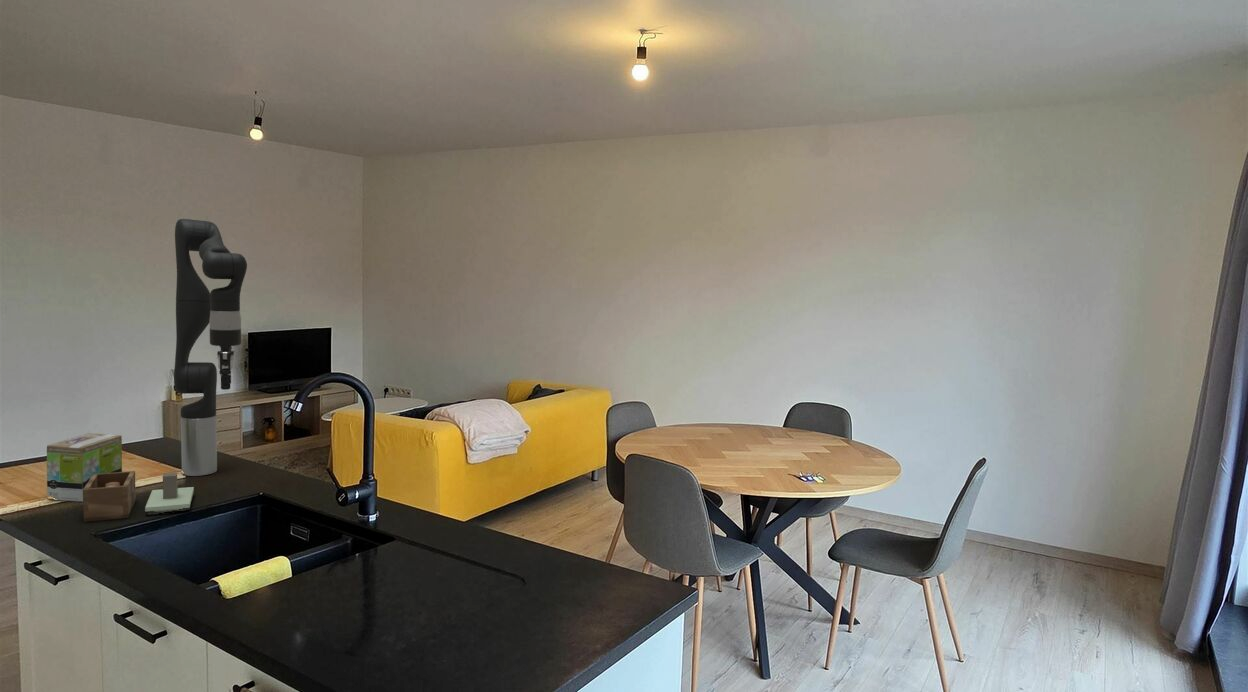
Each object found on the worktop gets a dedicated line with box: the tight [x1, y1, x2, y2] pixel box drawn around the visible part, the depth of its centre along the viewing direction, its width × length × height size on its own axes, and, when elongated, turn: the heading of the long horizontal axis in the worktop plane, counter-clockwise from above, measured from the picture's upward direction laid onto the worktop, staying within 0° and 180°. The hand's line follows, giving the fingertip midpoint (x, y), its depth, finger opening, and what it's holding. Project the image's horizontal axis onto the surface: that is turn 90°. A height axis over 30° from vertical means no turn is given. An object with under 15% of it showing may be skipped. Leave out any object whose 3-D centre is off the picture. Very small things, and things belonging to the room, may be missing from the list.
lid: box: [144, 472, 195, 512], centre depth 194 cm, size 15×10×8 cm, turn 26°
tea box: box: [46, 432, 123, 503], centre depth 201 cm, size 15×10×15 cm, turn 179°
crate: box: [82, 470, 137, 523], centre depth 189 cm, size 14×9×8 cm, turn 27°
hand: (226, 386), depth 203 cm, fingers open, 8 cm apart
